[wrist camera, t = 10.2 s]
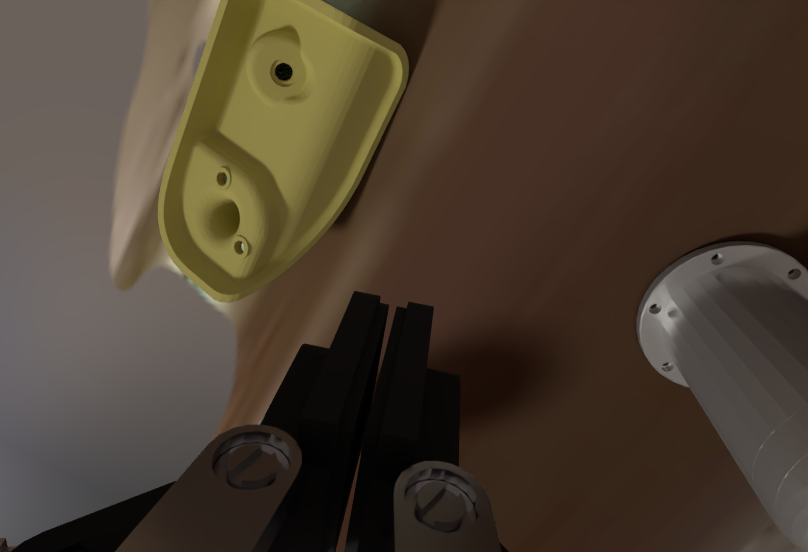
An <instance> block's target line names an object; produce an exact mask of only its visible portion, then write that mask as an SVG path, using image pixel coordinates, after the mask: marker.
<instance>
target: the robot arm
mask: <svg viewBox="0 0 808 552" xmlns="http://www.w3.org/2000/svg"><path fill="white" fill-rule="evenodd" d="M714 255H715V256H714ZM713 256H714V257H713ZM653 304H654V305H653ZM651 305H652V306H651ZM388 308H389V305H388V304H383V303H380V296H377V295H372V294H367V293H362V292H357V291H354V293H353V295H352V298H351V300H350V302H349V305H348V307H347V309H346V312H345V314H344V316H343V319H342V321H341V323H340V325H339V328H338V330H337V332H336V335H335V337H334V339H333V342H332V344H331V346H330V349H329V348H324V347H319V346H314V345H309V344H303V345H302V346H301V348H300V349H299V351H298V353H297V355H296V357H295V359H294V361H293V362H292V364H291V366H290V368H289V370H288V372H287V374H286V376H285V378H284V380H283V382H282V383H281V385H280V387H279V389H278V391H277V393H276V395H275V397H274V399H273V401H272V403H271V404H270V406H269V408H268V410H267V412H266V414H265V416H264V418H263V420H262V422H261V423H260V425H244V426H240V427H235V428H232V429H230V430H228V431H226V432H224V433H222V434H220V435H218V436H217V437H216V438H215V439H214V440H212V441H211V442H210V443H209V444H208V445H207V446H206V447H205V448H204V450H203V451H202V452H201V453H200V454H199V455H198V457H197V458H196V459H195V460H194V461H193V462H192V463H191V465H190V466H189V467H188V468H187V469H186V470H185V472H184V473H183V474H182V475H181V476H180V477H179V478H178V480H177V481H174V482H172V483H169V484H166V485H164V486H161V487H159V488H156V489H153V490H151V491H148V492H146V493H143V494H140V495H138V496H135V497H133V498H130V499H128V500H125V501H122V502H120V503H117V504H115V505H112V506H109V507H107V508H104V509H102V510H99V511H96V512H94V513H91V514H89V515H86V516H84V517H81V518H78V519H76V520H73V521H71V522H68V523H65V524H63V525H60V526H57V527H55V528H52V529H50V530H47V531H44V532H42V533H40V534H38V535H36V536H34V537H32V538H30V539H28V540H26V541H24V542H23V543H21V544H20V545H19V546H11V547H8V546H7V542H6V539H5V538H0V552H335V551H336V547H337V543H338V539H339V535H340V531H341V527H342V523H343V519H344V515H345V511H346V507H347V503H348V499H349V495H350V491H351V487H352V483H353V480H354V476H355V472H356V468H357V464H358V460H359V456H360V452H361V448H362V453H361V459H360V465H359V470H358V476H357V482H356V488H355V493H354V499H353V505H352V511H351V516H350V522H349V528H348V533H347V539H346V545H345V551H344V552H508V551H507V549H506V548H505V547H504V546H503V545H502V544H501V543H500V542H499V538H498V534H497V529H496V525H495V521H494V516H493V512H492V507H491V503H490V500H489V498H488V495H487V493H486V490H485V489H484V488H483V486H482V485H481V484H480V483H479V481H478V480H477V479H476V478H475V477H473V476H472V475H471V474H470V473H468V472H467V471H466V470H464V469H462V468H460V467H459V422H460V375H457V374H452V373H447V372H442V371H437V370H433V369H428V368H427V360H428V352H429V343H430V335H431V327H432V318H433V310H434V307H433V306H428V305H423V304H418V303H413V302H408V306H407V308H403V307H398V306H397V308H396V312H395V316H394V320H393V324H392V328H391V332H390V336H389V340H388V344H387V348H386V351H385V355H384V359H383V363H382V367H381V371H380V375H379V379H378V383H377V387H376V391H375V395H374V399H373V394H374V388H375V382H376V377H377V371H378V365H379V360H380V354H381V348H382V343H383V337H384V331H385V326H386V320H387V314H388ZM637 335H638V340H639V344H640V346H641V348H642V350H643V352H644V354H645V356H646V357H647V359H648V360H649V362H650V363H651V365H652V366H653V367H654V368H655V369H656V370H657V371H658V372H659V373H660V374H661V375H663V376H665V377H666V378H668V379H669V380H671V381H673V382H675V383H678V384H680V385H683V386H686V387H690V389H691V391H692V392H693V394H694V395H695V397H696V399H697V400H698V402H699V403H700V405H701V407H702V408H703V410H704V411H705V413H706V415H707V416H708V418H709V419H710V421H711V423H712V424H713V426H714V427H715V429H716V431H717V432H718V434H719V436H720V437H721V439H722V440H723V442H724V444H725V445H726V447H727V448H728V450H729V452H730V453H731V455H732V456H733V458H734V460H735V461H736V463H737V464H738V466H739V468H740V469H741V471H742V472H743V474H744V476H745V477H746V479H747V480H748V482H749V484H750V485H751V487H752V488H753V490H754V492H755V493H756V495H757V497H758V498H759V500H760V502H761V503H762V505H763V506H764V508H765V510H766V511H767V513H768V514H769V516H770V517H771V519H772V520H773V522H774V523H775V524H776V526H777V527H778V528H779V530H780V531H781V532H782V533H783V534H784V535H785V536H786V537H787V538H788V539H789V540H790V541H791V542H792V543H793V544H794V545H796V546H797V547H798V548H799V549H801V550H802V551H803V552H808V270H807V269H806V268H805V267H804V266H803V265H801V264H800V263H799V262H798V261H797V260H796V259H794V258H793V257H791V256H790V255H788V254H787V253H785V252H784V251H782V250H780V249H777V248H775V247H772V246H770V245H767V244H762V243H756V242H751V241H731V242H724V243H718V244H713V245H710V246H707V247H704V248H700V249H698V250H695V251H693V252H691V253H689V254H687V255H685V256H683V257H681V258H680V259H678V260H677V261H676V262H674V263H673V264H671V265H670V266H668V267H667V268H666V269H665V270H664V271H663V272H662V273H661V274H660V275H659V276H658V277H657V278H656V279H655V280H654V281H653V283H652V284H651V286H650V287H649V288H648V290H647V291H646V293H645V295H644V297H643V299H642V301H641V304H640V307H639V311H638V315H637ZM372 399H373V403H372ZM371 405H372V407H371ZM370 410H371V411H370ZM364 436H365V437H364ZM363 440H364V442H363ZM362 444H363V447H362Z"/></svg>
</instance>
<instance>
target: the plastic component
mask: <svg viewBox="0 0 808 552" xmlns="http://www.w3.org/2000/svg"><path fill="white" fill-rule="evenodd" d="M280 63H286V64H288V65H290V67H291V68H292V70H293V72H292V76H291V77H290V79H288V80H281V79H279V78H278V77H277V76H276V74H275V68H276V66H277V65H278V64H280ZM408 74H409V63H408V57H407V54H406V52H405V50H404V49H403V47H402V46H401V45H400V44H398V43H397V42H395V41H393V40H391V39H389V38H388V37H386V36H384V35H382V34H380V33H379V32H377V31H375V30H373V29H372V28H370V27H368V26H366V25H364V24H363V23H361V22H359V21H357V20H356V19H354V18H352V17H350V16H348V15H347V14H345V13H343V12H341V11H339V10H338V9H336V8H334V7H332V6H330V5H329V4H327V3H325V2H323V1H321V0H221V1H220V4H219V7H218V10H217V13H216V16H215V19H214V22H213V25H212V28H211V31H210V34H209V37H208V40H207V43H206V46H205V49H204V52H203V55H202V58H201V61H200V64H199V67H198V70H197V73H196V76H195V79H194V82H193V85H192V88H191V91H190V94H189V97H188V100H187V103H186V106H185V109H184V112H183V115H182V118H181V121H180V124H179V127H178V130H177V133H176V136H175V139H174V142H173V145H172V148H171V152H170V155H169V158H168V161H167V165H166V168H165V171H164V175H163V179H162V183H161V188H160V193H159V201H158V223H159V228H160V233H161V237H162V240H163V243H164V246H165V248H166V250H167V252H168V254H169V256H170V258H171V259H172V261H173V262H174V264H175V265H176V266H177V267H178V268H179V269H180V270H181V271H182V272H183V273H184V274H185V275H186V276H187V277H188V278H189V279H190V280H192V281H193V282H194V283H195V284H196V285H198V286H199V287H200V288H201V289H202V290H204V291H205V292H206V293H207V294H208V295H209V296H211V297H212V298H213V299H214V300H217V301H219V302H227V303H230V302H235V301H238V300H240V299H242V298H244V297H246V296H248V295H250V294H252V293H253V292H255V291H257V290H258V289H260V288H262V287H263V286H265V285H267V284H268V283H269V282H271V281H272V280H274V279H275V278H276V277H278V276H279V275H281V274H282V273H283V272H284V271H286V270H287V269H288V268H289V267H291V266H292V265H293V264H294V263H295V262H296V261H298V260H299V259H300V258H301V257H302V256H303V255H304V254H305V253H306V252H307V251H308V250H309V249H310V248H312V247H313V246H314V245H315V244H316V243H317V241H318V240H319V239H320V238H321V237H322V236H323V235H324V234H325V232H326V231H327V230H328V229H329V228H330V227H331V225H332V224H333V223H334V221H335V220H336V219H337V217H338V216H339V215H340V213H341V212H342V211H343V209H344V208H345V206H346V205H347V203H348V202H349V200H350V198H351V197H352V195H353V193H354V192H355V190H356V188H357V187H358V185H359V183H360V181H361V179H362V177H363V175H364V173H365V171H366V169H367V166H368V164H369V162H370V160H371V158H372V156H373V154H374V152H375V150H376V148H377V146H378V144H379V142H380V140H381V137H382V135H383V133H384V131H385V129H386V127H387V125H388V123H389V121H390V119H391V117H392V115H393V113H394V110H395V108H396V106H397V104H398V102H399V100H400V98H401V96H402V94H403V92H404V90H405V88H406V84H407V80H408ZM225 174H226V176H227V182H226V184H225V182H224V176H225ZM242 242H243V244H244V246H245V250H244V252H243V251H242V248H241V244H242Z"/></svg>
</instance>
